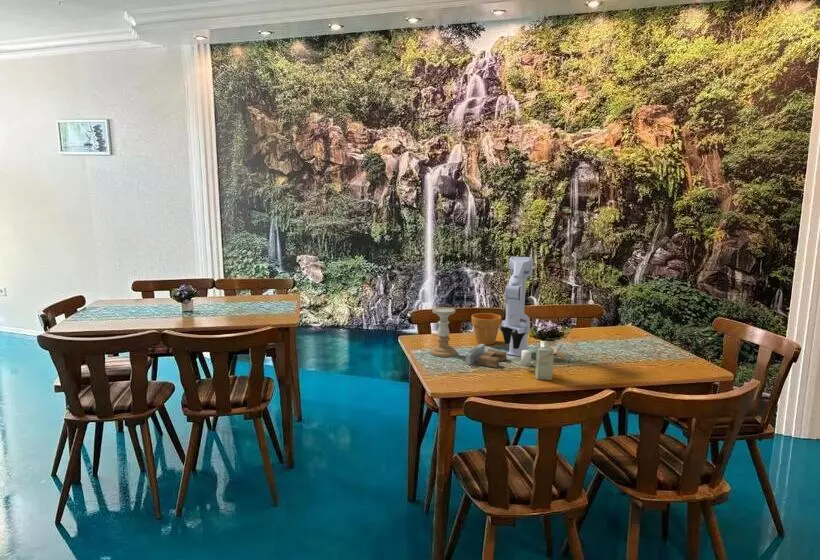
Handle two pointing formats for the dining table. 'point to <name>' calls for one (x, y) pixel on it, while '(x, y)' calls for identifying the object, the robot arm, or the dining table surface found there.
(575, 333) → the dining table surface
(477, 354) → the wall
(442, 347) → the candle holder
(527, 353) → the dowel
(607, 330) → the dining table surface
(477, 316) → the flower pot
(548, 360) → the skincare box
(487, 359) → the block
